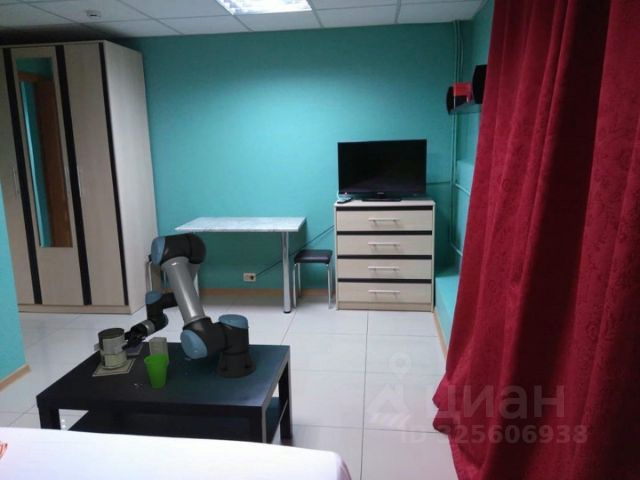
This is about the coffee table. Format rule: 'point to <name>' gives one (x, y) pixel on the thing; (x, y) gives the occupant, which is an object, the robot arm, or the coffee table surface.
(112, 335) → the coffee can
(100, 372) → the cream square tile
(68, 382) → the coffee table surface
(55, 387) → the coffee table surface
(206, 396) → the coffee table surface
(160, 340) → the skincare box
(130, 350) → the ink pad
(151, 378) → the cup
